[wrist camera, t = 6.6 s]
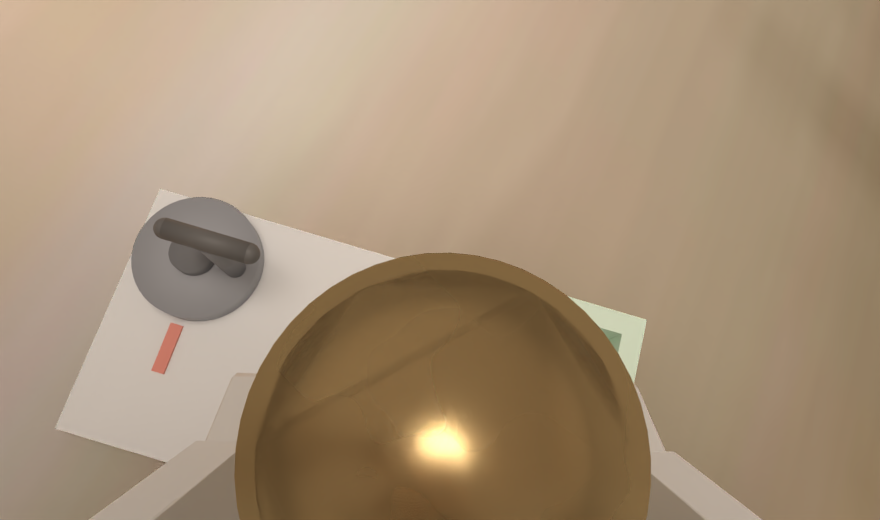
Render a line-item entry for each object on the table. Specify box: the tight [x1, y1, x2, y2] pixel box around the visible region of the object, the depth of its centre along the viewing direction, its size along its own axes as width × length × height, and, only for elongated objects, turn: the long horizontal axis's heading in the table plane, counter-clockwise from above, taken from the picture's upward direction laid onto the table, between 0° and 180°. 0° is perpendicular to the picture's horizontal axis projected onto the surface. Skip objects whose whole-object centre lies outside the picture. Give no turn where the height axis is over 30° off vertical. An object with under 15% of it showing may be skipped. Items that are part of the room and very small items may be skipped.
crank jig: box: [55, 189, 396, 462], centre depth 28 cm, size 13×12×7 cm
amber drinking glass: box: [234, 253, 651, 520], centre depth 11 cm, size 4×4×10 cm
